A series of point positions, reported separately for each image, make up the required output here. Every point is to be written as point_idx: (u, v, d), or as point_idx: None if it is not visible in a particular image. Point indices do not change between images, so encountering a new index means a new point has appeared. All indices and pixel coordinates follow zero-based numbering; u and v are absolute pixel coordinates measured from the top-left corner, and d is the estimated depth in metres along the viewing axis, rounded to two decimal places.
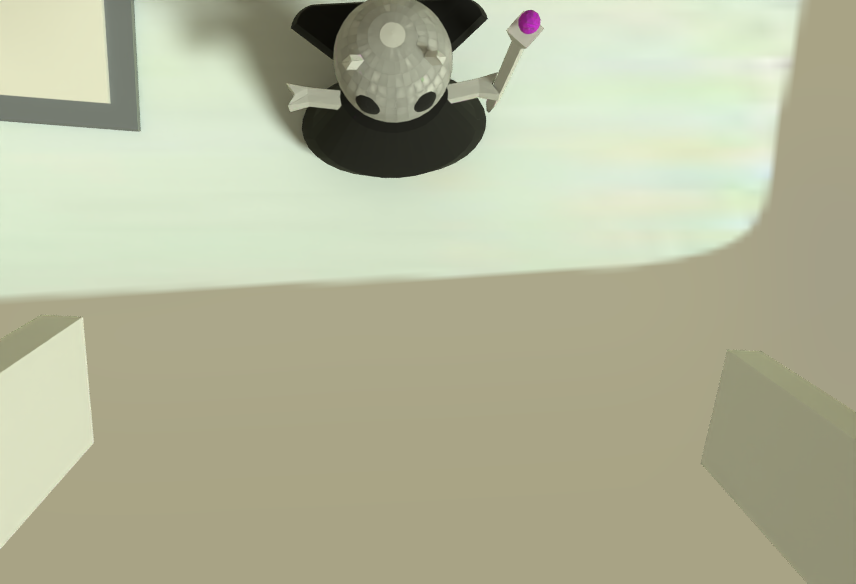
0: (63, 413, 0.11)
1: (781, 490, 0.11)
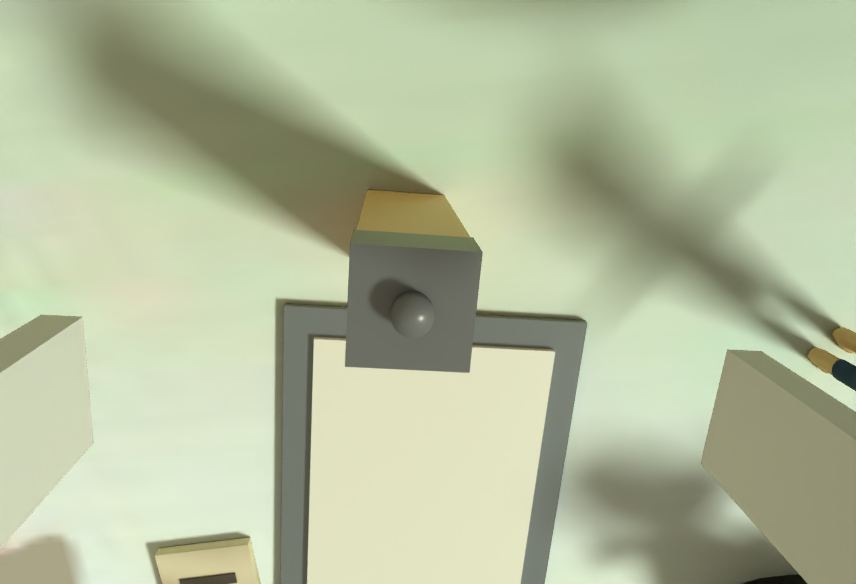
0: (63, 413, 0.11)
1: (781, 491, 0.11)
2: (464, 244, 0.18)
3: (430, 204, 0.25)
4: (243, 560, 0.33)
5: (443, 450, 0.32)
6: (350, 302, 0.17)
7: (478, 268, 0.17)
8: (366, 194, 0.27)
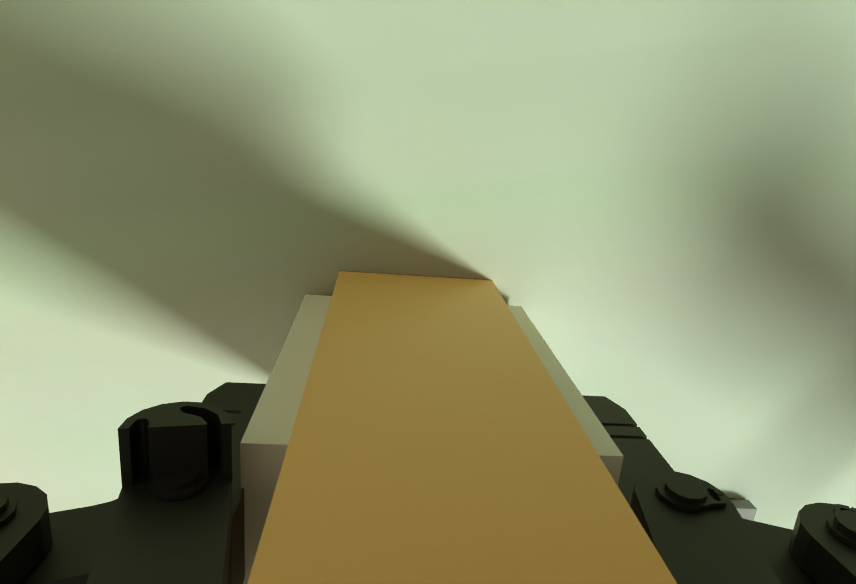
0: None
1: None
2: None
3: (475, 325, 0.11)
4: None
5: None
6: None
7: None
8: (334, 291, 0.12)
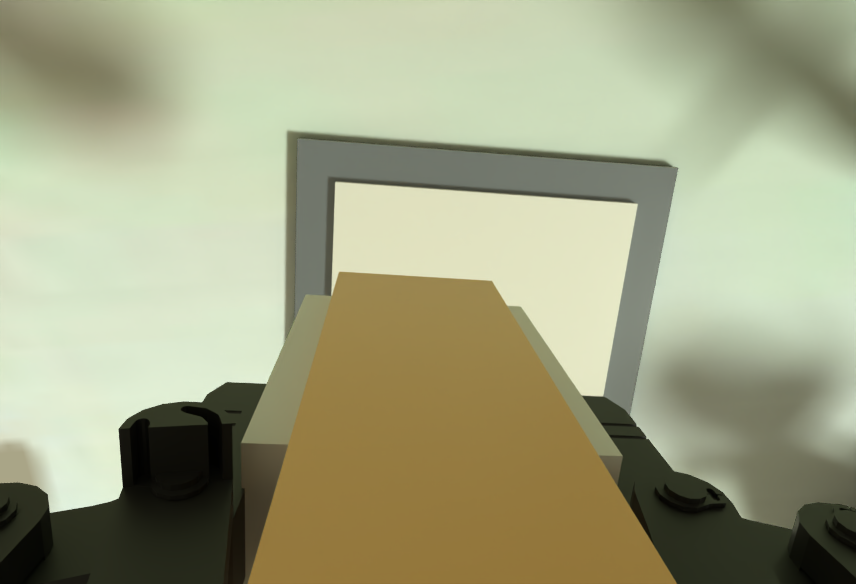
0: None
1: None
2: None
3: (475, 325, 0.11)
4: None
5: None
6: None
7: None
8: (334, 292, 0.12)
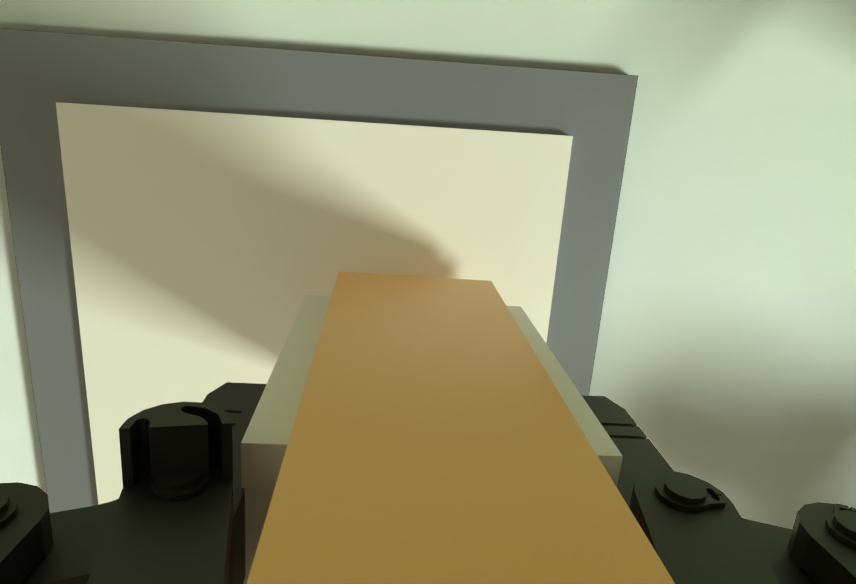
0: None
1: None
2: None
3: (474, 325, 0.11)
4: None
5: None
6: None
7: None
8: (333, 292, 0.12)
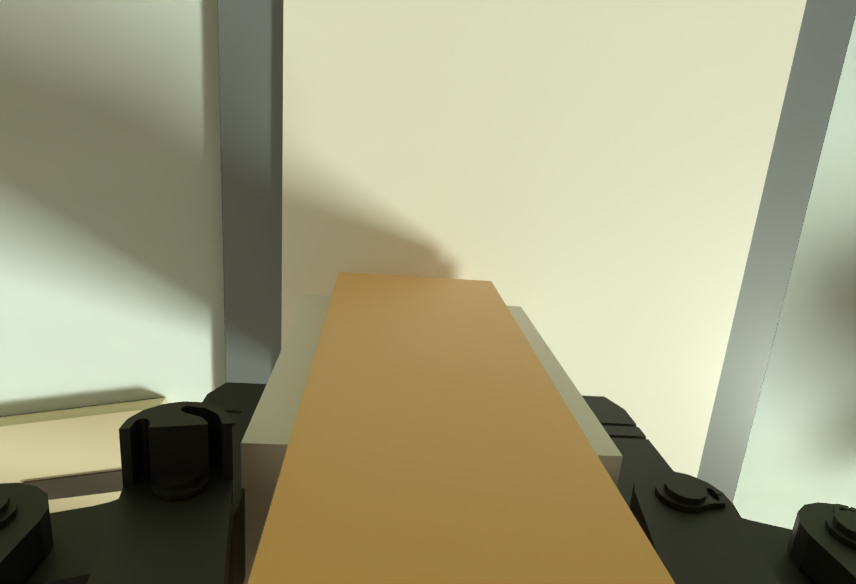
0: None
1: None
2: None
3: (474, 326, 0.11)
4: None
5: (562, 196, 0.15)
6: None
7: None
8: (333, 292, 0.12)
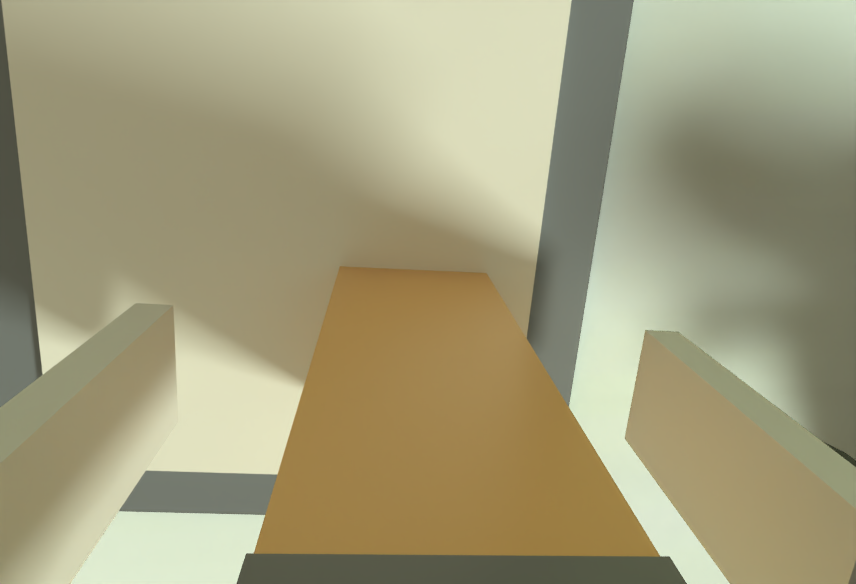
0: (159, 392, 0.12)
1: (682, 458, 0.12)
2: None
3: (469, 314, 0.12)
4: None
5: (333, 29, 0.13)
6: None
7: None
8: (334, 285, 0.13)
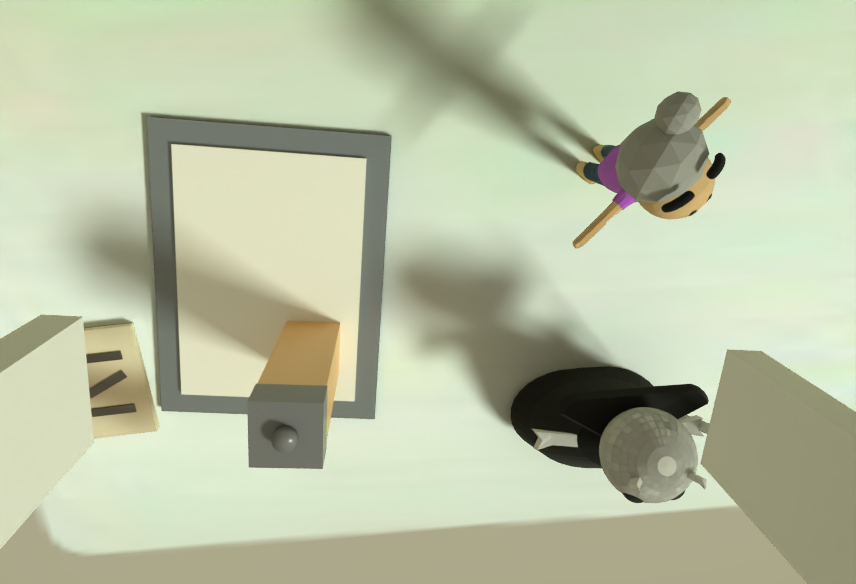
0: (63, 413, 0.11)
1: (781, 491, 0.11)
2: (317, 395, 0.31)
3: (323, 339, 0.38)
4: (126, 340, 0.41)
5: (283, 244, 0.40)
6: (249, 432, 0.30)
7: (322, 412, 0.30)
8: (283, 329, 0.40)
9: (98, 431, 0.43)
